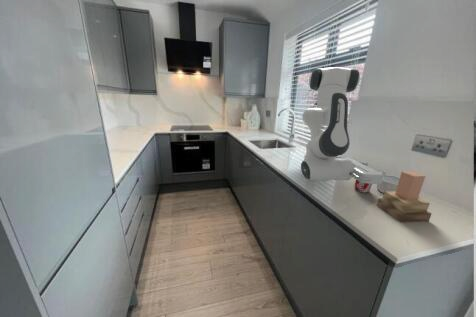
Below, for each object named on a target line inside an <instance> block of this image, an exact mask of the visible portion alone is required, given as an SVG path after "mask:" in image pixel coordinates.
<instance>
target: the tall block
mask: <svg viewBox="0 0 476 317" xmlns="http://www.w3.org/2000/svg"><path fill="white" fill-rule="evenodd" d="M399 177H400V179H399V183H398V186H397V189H396V193H395V194H396V195H398V196H400V197H402V198H404V199H406V200H415V199H418V197H419V198H420V193H421V190H422V187H423V184H424V182H425V178H426V175H424V174H421V173H418V172H417V171H412V170H411V171H409V170H407V171H406V170H405V171H401V173H400V176H399Z"/></svg>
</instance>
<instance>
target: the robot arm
mask: <svg viewBox="0 0 476 317" xmlns="http://www.w3.org/2000/svg"><path fill="white" fill-rule="evenodd" d="M360 75H361V74H360V71H359V70H358V69H355V68H352V67H351V68H345V67H339V66H335V67H324V68H322V67H317V68H314V70H312V72H311V73H310V76H309V78H308V84H309V88H310V89H311V90H312V91H315V92H317V95H316V105H317V107H311V108H306V109H305V110H304V111H303V113H302V116H301V118H302V122H303V123H304V124H305V125H306V126H307V127H308V129H309V131H310V141H308V143H307V144H306V152H305V154H304V156H303V160H302V162H301V164H300V170H301V174H302V175H303V177H304V178H305V179H307V180H309V181H314V182H315V181H316V182H326V181H330V180H332V181H334V182H335V181H337V182H339V181H349V180H351V179H352V178H354V179H355V181H356V180H358V181H360V182H362V183H368V184H372V185H374V184H375V185H377V184H380V183H381V182H382V180H383V176H385V175H387V172H386V171H385V170H378V171H377V170H376V169H374V170H373V168H372V167H369V166H368V165H369V164H368V163H367V162H366V161H358V160H355V159H353V158H352V157H349V156H343V155H344V154H346V152H347V151H348V149H350V137H349V136H350V135H349V132H348V116H349V113H348V112H349V100H348V98H347V93H353V91H355V90H356V88H357V87H358V86H359V83H360V80H361V76H360ZM321 127H326V128H325V129H324V130H322V128H321ZM371 168H372V169H371Z"/></svg>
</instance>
